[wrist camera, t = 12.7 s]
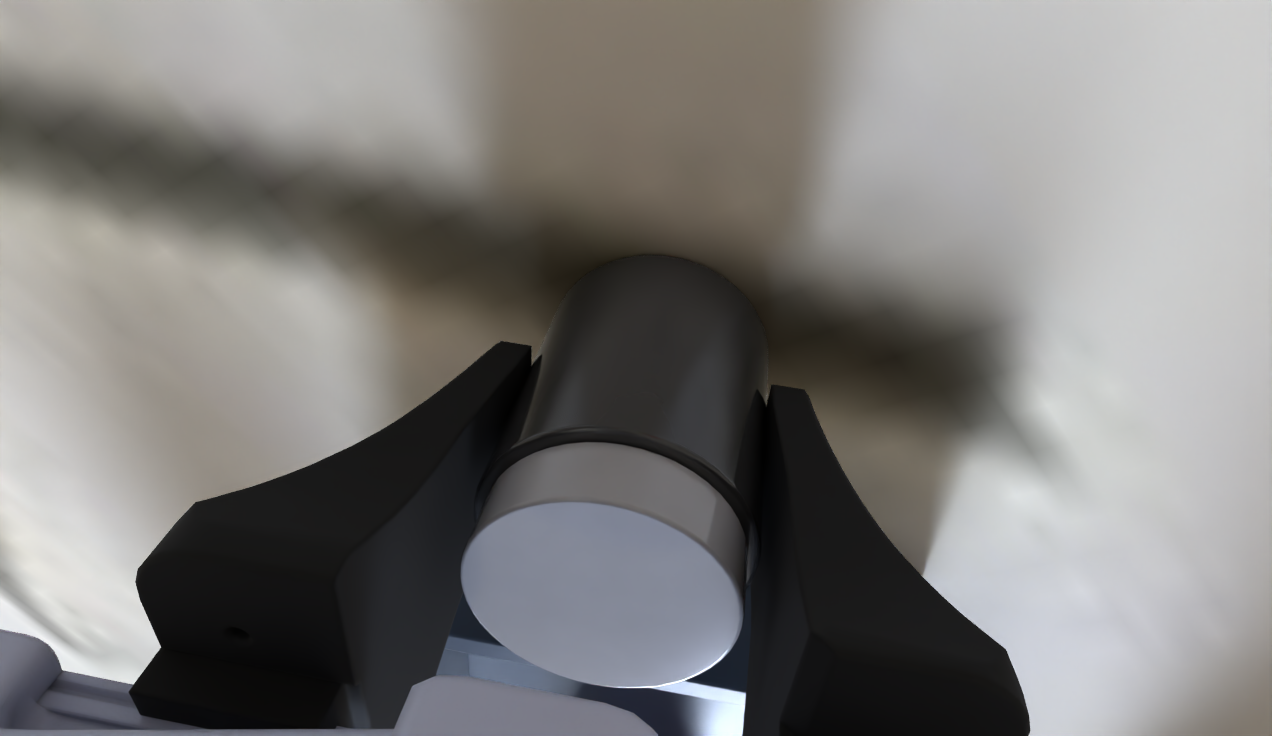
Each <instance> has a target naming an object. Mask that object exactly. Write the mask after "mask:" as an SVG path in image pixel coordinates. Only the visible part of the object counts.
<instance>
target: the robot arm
mask: <svg viewBox="0 0 1272 736" xmlns="http://www.w3.org/2000/svg"><path fill="white" fill-rule="evenodd" d="M531 352H532V346H529V345H523V344H517V343H510V342H504V341H500V342H499V343H497V344H496V345H495V346H493V347H492V348H491V349H490V350H489V351H487V352H486V353H485V354H484V355H483V356H481V357H480V358H479V359H478V360H477V361H475V362H474V363H473V364H472V365H471V366H469V367H468V368H467V369H466V370H465V371H463V372H462V373H461V374H460V375H458V376H457V377H456V378H455V379H453V380H452V381H451V382H449V383H448V384H447V385H446V386H444V387H443V388H442V389H440V390H439V391H438V392H437V393H435V394H434V395H433V396H431V397H430V398H429V399H427V400H426V401H424V402H423V403H422V404H420V405H419V406H417V407H416V408H414V409H413V410H411V411H410V412H409V413H407V414H406V415H404V416H403V417H401V418H400V419H398V420H397V421H395V422H394V423H392V424H390V425H389V426H387V427H386V428H384V429H382V430H380V431H379V432H377V433H375V434H373V435H371V436H370V437H368V438H366V439H364V440H362V441H361V442H359V443H357V444H355V445H353V446H351V447H349V448H347V449H344V450H342V451H340V452H338V453H336V454H334V455H331V456H329V457H327V458H325V459H323V460H321V461H319V462H316V463H314V464H312V465H310V466H307V467H305V468H302V469H300V470H297V471H294V472H292V473H289V474H287V475H284V476H281V477H278V478H276V479H273V480H270V481H267V482H264V483H261V484H258V485H255V486H252V487H249V488H245V489H242V490H238V491H235V492H231V493H228V494H224V495H221V496H217V497H214V498H210V499H207V500H203V501H199V502H195V503H194V504H193V505H192V506H191V507H190V508H189V510H188V511H187V512H186V513H185V514H184V515H183V516H182V517H181V518H180V519H179V520H178V521H177V522H176V524H175V525H174V526H173V527H172V528H171V530H170V531H169V532H168V533H167V534H166V536H165V537H164V538H163V539H162V541H161V542H160V543H159V544H158V545H157V547H156V548H155V549H154V550H153V551H152V553H151V554H150V555H149V556H148V558H147V559H146V560H145V561H144V562H143V564H142V565H141V566H140V567H139V568H138V571H137V576H136V586H137V590H138V593H139V597H140V601H141V603H142V605H143V607H144V610H145V612H146V614H147V616H148V619H149V621H150V623H151V625H152V627H153V630H154V632H155V634H156V636H157V639H158V641H159V643H160V645H161V649H160V650H159V651H158V653H157V654H156V655H155V657H154V658H153V659H152V661H151V662H150V663H149V665H148V666H147V667H146V669H145V670H144V671H143V673H142V674H141V675H140V677H139V678H138V680H137V681H136V682H135V684H134V685H132V684H127V683H122V682H117V681H112V680H107V679H103V678H98V677H93V676H88V675H83V674H78V673H73V672H68V671H63V670H62V669H61V665H60V662H59V660H58V657H57V655H56V654H55V652H54V651H53V650H52V648H51V647H50V646H49V645H48V644H46V643H45V642H43V641H41V640H40V639H38V638H35V637H33V636H30V635H26V634H21V633H16V632H11V631H6V630H1V629H0V736H658V734H657V733H656V732H655V731H654V730H653V729H652V728H651V727H650V726H649V725H648V724H646V723H645V722H644V721H643V720H641V719H640V718H639V717H638V716H637V715H635V714H634V713H632V712H629V711H627V710H624V709H621V708H618V707H615V706H612V705H609V704H607V703H603V702H598V701H592V700H587V699H582V698H577V697H572V696H567V695H562V694H556V693H551V692H546V691H541V690H536V689H531V688H525V687H520V686H515V685H510V684H505V683H500V682H495V681H489V680H484V679H479V678H474V677H469V676H451V675H438V676H436V673H437V670H438V667H439V664H440V661H441V658H442V654H443V651H444V648H445V645H446V642H447V639H448V636H449V633H450V630H451V627H452V624H453V621H454V618H455V615H456V612H457V609H458V606H459V603H460V600H461V597H462V594H463V589H462V584H461V577H460V564H461V558H462V554H463V550H464V548H465V545H466V543H467V541H468V539H469V536H470V534H471V532H472V529H473V527H474V525H475V521H474V513H473V511H474V497H475V493H476V489H477V486H478V483H479V481H480V479H481V477H482V474H483V472H484V470H485V468H486V466H487V463H488V461H489V459H490V457H491V455H492V452H493V450H494V448H495V446H496V444H497V441H498V439H499V437H500V435H501V433H502V430H503V428H504V426H505V424H506V422H507V419H508V417H509V415H510V413H511V411H512V408H513V406H514V404H515V402H516V400H517V397H518V395H519V393H520V391H521V389H522V387H523V384H524V382H525V380H526V378H527V376H528V373H529V371H530V369H531ZM750 585H751V636H750V649H749V662H748V675H747V687H746V699H745V711H744V723H743V734H742V736H1028V735H1029V733H1030V722H1029V714H1028V710H1027V707H1026V703H1025V699H1024V695H1023V692H1022V689H1021V686H1020V684H1019V681H1018V678H1017V676H1016V673H1015V671H1014V668H1013V666H1012V664H1011V661H1010V659H1009V656H1008V654H1007V651H1006V649H1004V648H1003V647H1002V646H1001V645H999V644H998V643H997V642H996V641H994V640H993V639H992V638H991V637H990V636H988V635H987V634H986V633H985V632H983V631H982V630H981V629H980V628H978V627H977V626H976V625H975V624H973V623H972V622H971V621H970V620H968V619H967V618H966V617H965V616H963V615H962V614H961V613H960V612H959V611H958V610H957V609H955V608H954V607H953V606H952V605H951V604H950V603H949V602H948V601H947V600H946V599H945V598H944V597H942V596H941V595H940V594H939V593H938V592H937V591H936V590H935V589H934V588H933V587H932V586H931V585H930V584H929V583H928V582H927V581H926V580H925V579H924V578H923V577H922V576H921V575H920V574H919V573H918V572H917V571H916V569H915V568H914V567H913V566H912V565H911V564H910V563H909V562H908V561H907V560H906V559H905V557H904V556H903V555H902V554H901V553H900V552H899V551H898V550H897V548H896V547H895V546H894V545H893V544H892V542H891V541H890V540H889V539H888V537H887V536H886V535H885V533H884V532H883V531H882V530H881V528H880V527H879V526H878V524H877V523H876V522H875V520H874V519H873V517H872V516H871V514H870V513H869V512H868V510H867V509H866V507H865V506H864V504H863V503H862V501H861V499H860V498H859V496H858V495H857V493H856V491H855V490H854V488H853V487H852V485H851V483H850V482H849V480H848V478H847V477H846V475H845V473H844V471H843V470H842V468H841V466H840V464H839V462H838V460H837V458H836V456H835V454H834V453H833V451H832V449H831V447H830V445H829V443H828V441H827V439H826V437H825V434H824V432H823V430H822V428H821V426H820V423H819V421H818V419H817V416H816V414H815V412H814V409H813V406H812V404H811V401H810V398H809V396H808V394H807V393H806V391H805V390H803V389H797V388H791V387H785V386H778V385H771V389H770V394H769V398H768V402H767V407H766V428H765V465H764V492H763V519H762V546H761V555H760V562H759V565H758V568H757V571H756V573H755V576H754V578H753V579H752V581H751V583H750Z"/></svg>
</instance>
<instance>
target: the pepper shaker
mask: <svg viewBox="0 0 1272 736" xmlns="http://www.w3.org/2000/svg"><path fill="white" fill-rule="evenodd" d="M767 385H768V343H767V337H766V333H765V330H764V327H763V324H762V322H761V320H760V318H759V316H758V314H757V312H756V310H755V309H754V308H753V306H752V305H751V303H750V302H749V301H748V299H747V298H746V297H745V296H744V295H743V294H742V293H741V292H740V291H739V290H738V289H737V288H736V287H735V286H734V285H733V284H731V283H730V282H729V281H728V280H726V279H725V278H723V277H722V276H720V275H719V274H717V273H716V272H714V271H712V270H710V269H708V268H706V267H704V266H701V265H699V264H696V263H693V262H690V261H687V260H684V259H679V258H674V257H669V256H658V255H645V256H634V257H628V258H623V259H620V260H616V261H613V262H610V263H607V264H605V265H603V266H600V267H598V268H596V269H595V270H593V271H591V272H590V273H588V274H586V275H585V276H584V277H583V278H581V279H580V280H579V281H578V282H576V283H575V285H574V286H573V287H572V288H571V289H570V290H569V291H568V292H567V294H566V295H565V297H564V298H563V300H562V301H561V303H560V305H559V307H558V310H557V312H556V314H555V316H554V318H553V321H552V323H551V325H550V327H549V329H548V332H547V334H546V336H545V338H544V340H543V343H542V345H541V347H540V349H539V351H538V354H537V356H536V358H535V360H534V362H533V365H532V367H531V369H530V371H529V373H528V376H527V378H526V380H525V382H524V384H523V387H522V389H521V391H520V393H519V395H518V397H517V400H516V402H515V404H514V406H513V408H512V411H511V413H510V415H509V417H508V419H507V422H506V424H505V426H504V428H503V430H502V433H501V435H500V437H499V439H498V441H497V444H496V446H495V448H494V450H493V452H492V455H491V457H490V459H489V461H488V463H487V466H486V468H485V470H484V472H483V474H482V477H481V479H480V481H479V483H478V486H477V489H476V493H475V497H474V511H473V513H474V521H475V525H474V527H473V529H472V532H471V534H470V536H469V539H468V541H467V543H466V545H465V548H464V550H463V554H462V558H461V564H460V577H461V584H462V589H463V592H464V595H465V598H466V601H467V603H468V605H469V607H470V608H471V610H472V612H473V614H474V615H475V617H476V618H477V619H478V621H479V622H480V623H481V625H482V626H483V627H484V628H485V629H486V630H487V631H488V632H489V633H490V634H491V635H492V636H493V637H494V638H495V639H496V640H497V641H498V642H500V643H501V644H502V645H503V646H505V647H506V648H507V649H509V650H510V651H511V652H513V653H514V654H516V655H517V656H519V657H521V658H522V659H524V660H526V661H528V662H529V663H531V664H533V665H535V666H537V667H540V668H542V669H544V670H546V671H549V672H551V673H554V674H556V675H559V676H562V677H565V678H568V679H572V680H575V681H579V682H583V683H588V684H592V685H599V686H605V687H615V688H649V687H659V686H664V685H670V684H674V683H678V682H681V681H685V680H688V679H690V678H693V677H695V676H697V675H700V674H702V673H703V672H705V671H707V670H709V669H710V668H712V667H713V666H715V665H716V664H717V663H718V662H720V661H721V660H722V659H723V658H724V657H725V656H726V655H727V654H728V653H729V652H730V650H731V649H732V647H733V646H734V644H735V642H736V641H737V639H738V638H739V635H740V632H741V630H742V627H743V622H744V615H745V598H746V589H747V588H748V586H749V584H750V583H751V581H752V579H753V578H754V576H755V573H756V571H757V568H758V565H759V562H760V555H761V546H762V519H763V492H764V465H765V428H766V407H767Z"/></svg>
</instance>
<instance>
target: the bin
mask: <svg viewBox="0 0 1272 736" xmlns="http://www.w3.org/2000/svg"><path fill="white" fill-rule="evenodd" d="M750 636H751V585H750V584H749V586H748V588H747V589H746V598H745V615H744V622H743V627H742V630H741V632H740V635H739V638H738V639H737V641H736V642H735V644H734V646H733V647H732V649H731V650H730V652H729V653H728V654H727V655H726V656H725V657H724V658H723V659H722V660H721V661H720V662H718V663H717V664H716V665H715V666H713V667H712V668H710V669H709V670H707V671H705V672H703V673H702V674H700V675H697V676H695V677H693V678H690V679H688V680H685V681H681V682H678V683H674V684H670V685H664V686H659V687H649V688H615V687H605V686H599V685H592V684H588V683H583V682H579V681H575V680H572V679H568V678H565V677H562V676H559V675H556V674H554V673H551V672H549V671H546V670H544V669H542V668H540V667H537V666H535V665H533V664H531V663H529V662H528V661H526V660H524V659H522V658H521V657H519V656H517V655H516V654H514V653H513V652H511V651H510V650H509V649H507V648H506V647H505V646H503V645H502V644H501V643H500V642H498V641H497V640H496V639H495V638H494V637H493V636H492V635H491V634H490V633H489V632H488V631H487V630H486V629H485V628H484V627H483V626H482V625H481V623H480V622H479V621H478V619H477V618H476V617H475V615H474V614H473V612H472V610H471V608H470V607H469V605H468V603H467V601H466V598H465V595H464V592H463V594H462V597H461V600H460V603H459V606H458V609H457V612H456V615H455V618H454V621H453V624H452V627H451V630H450V633H449V636H448V639H447V642H446V645H445V648H444V651H443V654H442V658H441V661H440V664H439V667H438V670H437V673H436V676H438V675H451V676H469V677H474V678H479V679H484V680H489V681H495V682H500V683H505V684H510V685H515V686H520V687H525V688H531V689H536V690H541V691H546V692H551V693H556V694H562V695H567V696H572V697H577V698H582V699H587V700H592V701H598V702H603V703H607V704H609V705H612V706H615V707H618V708H621V709H624V710H627V711H629V712H632V713H634V714H635V715H637V716H638V717H639V718H640V719H641V720H643V721H644V722H645V723H646V724H648V725H649V726H650V727H651V728H652V729H653V730H654V731H655V732H656V733H657V734H658V736H742V734H743V723H744V711H745V699H746V687H747V675H748V662H749V649H750Z"/></svg>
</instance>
